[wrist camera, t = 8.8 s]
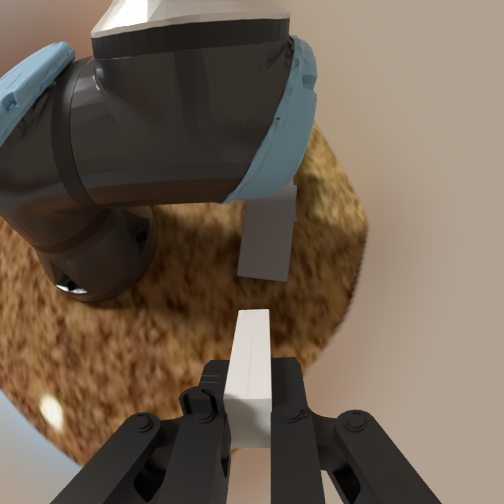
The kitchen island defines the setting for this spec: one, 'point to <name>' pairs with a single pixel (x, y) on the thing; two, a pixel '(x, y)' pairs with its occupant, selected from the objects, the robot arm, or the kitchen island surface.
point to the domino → (268, 236)
